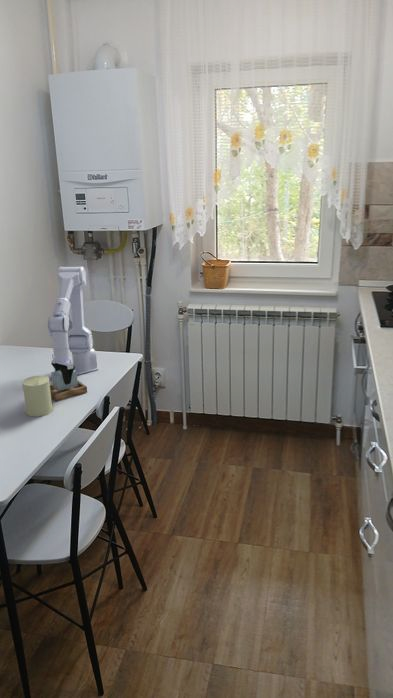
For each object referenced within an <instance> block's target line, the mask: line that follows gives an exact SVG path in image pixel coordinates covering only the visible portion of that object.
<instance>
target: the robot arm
mask: <svg viewBox="0 0 393 698" xmlns="http://www.w3.org/2000/svg"><path fill="white" fill-rule="evenodd" d="M86 272H87V271H86V269H85V267H84V266H59V268H58V269H57V280H58V283H59V285H60V288H59V295H58V296H59V297H58V298H57V299H56V300H55V302H54V306H53V309H52V310H53V311H52V314H51V317H49V318H48V320H47V329H48V331H49V332H48V333H49V336H50V337H51V342H52V350H53V351H52V352H53V353H52V354H51V357H52V359H51V365H52V367H53V369H54V371H59V370H60V371H61V373H62V376H63V380H64V383H65V385H67V384H71V378H72V374H73V371H74V370H76V371H77V376H79V375H83V374H87V373H91V372H94V371H97V370H99V368H98V362H97V352H96V350H95V349H94V348H93V347H94V339H93V335H92V334H93V333H92V331H91V330H90V329H89V328H87V327H86V325H85V319H84V318H85V315H84V313H85V312H84V296H83V291H84V290H83V288H84V287H86V286H87V273H86ZM70 311H71V323H72V324H71V326H72V328H70V329H69V327H70V318H69V317H70V315H69V314H70ZM70 353H71V354H70ZM70 355H71V356H70Z"/></svg>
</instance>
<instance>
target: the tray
mask: <svg viewBox="0 0 393 698" xmlns="http://www.w3.org/2000/svg"><path fill="white" fill-rule="evenodd" d="M50 393H51V400H53V401H55V402H58V401H62V400H66V399H70V398H72V397H76V396H80V395H82V394H87V393H88V387H87V385H85V384H84V383H83V382H82V381H79V380H78V386H76V387H72V388H68V389H65V390H61V391H57V390H56V389H55V388H53V384H52V383H51V384H50Z"/></svg>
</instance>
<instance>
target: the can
mask: <svg viewBox="0 0 393 698" xmlns="http://www.w3.org/2000/svg"><path fill="white" fill-rule="evenodd" d="M21 384H22V390H23V397H24V403H25V404H24V405H25V413H26V415H28V416H30V417H43V416H46V415H48V414H50V413H51V412H53V410H54V407H53V402H52V398H51V393H50V385H51V384H50V378H49V377H48V376H46V375H34V376H30V377H27V378H25V379H23V380H22V382H21Z"/></svg>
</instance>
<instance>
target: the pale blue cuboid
mask: <svg viewBox="0 0 393 698" xmlns="http://www.w3.org/2000/svg"><path fill="white" fill-rule="evenodd" d="M54 371H55V370H54ZM54 371H52V372H50V374H51V382H52V383H51V384H53V388H55V389H56V390H57V391H61V390H65V389H68V388H72V387H76V386H78V381H79V379H78V375H77V371H76V370H74V371H73V374H72V378H71V384H67V385H65V383H64V380H63V376H62V373H61V371H60V370H59V371H55V372H54Z"/></svg>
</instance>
